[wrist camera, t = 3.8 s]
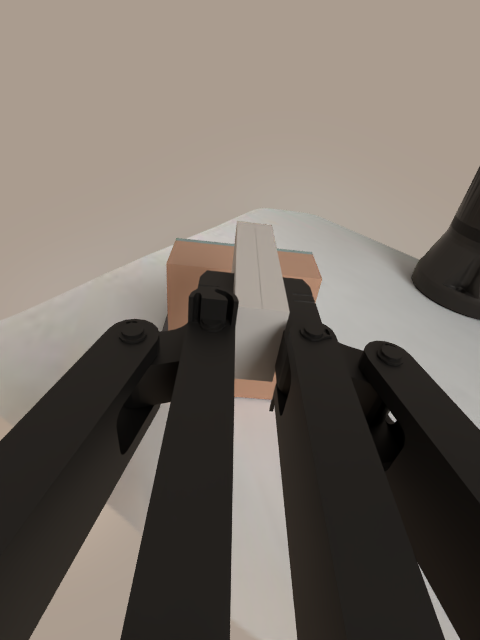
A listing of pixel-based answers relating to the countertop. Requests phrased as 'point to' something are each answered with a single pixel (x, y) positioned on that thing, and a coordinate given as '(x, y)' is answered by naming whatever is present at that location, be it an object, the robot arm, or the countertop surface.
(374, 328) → the countertop surface
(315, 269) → the tile
